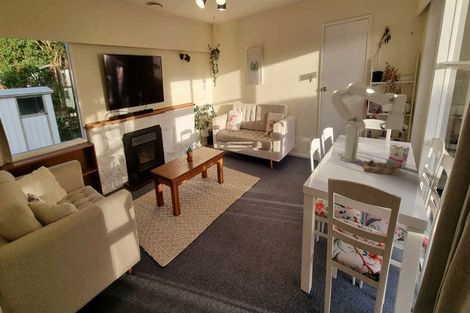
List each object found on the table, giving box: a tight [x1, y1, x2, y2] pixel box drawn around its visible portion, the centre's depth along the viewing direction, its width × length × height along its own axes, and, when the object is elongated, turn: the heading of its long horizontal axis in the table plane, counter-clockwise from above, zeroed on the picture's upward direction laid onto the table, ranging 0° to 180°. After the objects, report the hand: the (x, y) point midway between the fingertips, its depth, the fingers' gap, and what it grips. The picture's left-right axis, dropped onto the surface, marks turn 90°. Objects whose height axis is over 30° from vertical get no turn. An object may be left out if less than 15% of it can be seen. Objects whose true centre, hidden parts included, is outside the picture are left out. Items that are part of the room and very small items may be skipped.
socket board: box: [362, 159, 400, 176], centre depth 183 cm, size 22×14×4 cm, turn 65°
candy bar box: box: [388, 143, 410, 170], centre depth 186 cm, size 11×5×16 cm, turn 21°
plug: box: [385, 158, 394, 169], centre depth 180 cm, size 4×4×8 cm
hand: (391, 136), depth 175 cm, fingers open, 9 cm apart
